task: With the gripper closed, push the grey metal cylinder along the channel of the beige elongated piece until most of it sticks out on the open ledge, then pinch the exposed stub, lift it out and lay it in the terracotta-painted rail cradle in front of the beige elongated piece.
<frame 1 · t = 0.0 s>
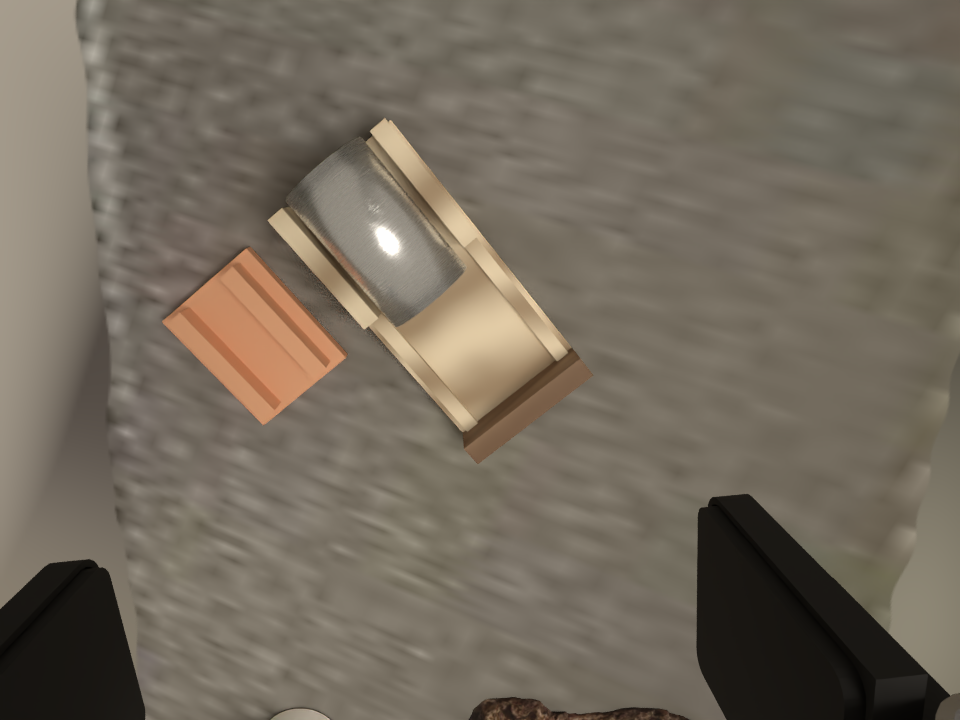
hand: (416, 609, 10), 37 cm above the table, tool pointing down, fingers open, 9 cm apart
grey metal cylinder: (383, 231, 43), point 2 cm above the table, touching beige elongated piece
cradle: (259, 336, 46), on the table
beige elongated piece: (436, 290, 46), on the table
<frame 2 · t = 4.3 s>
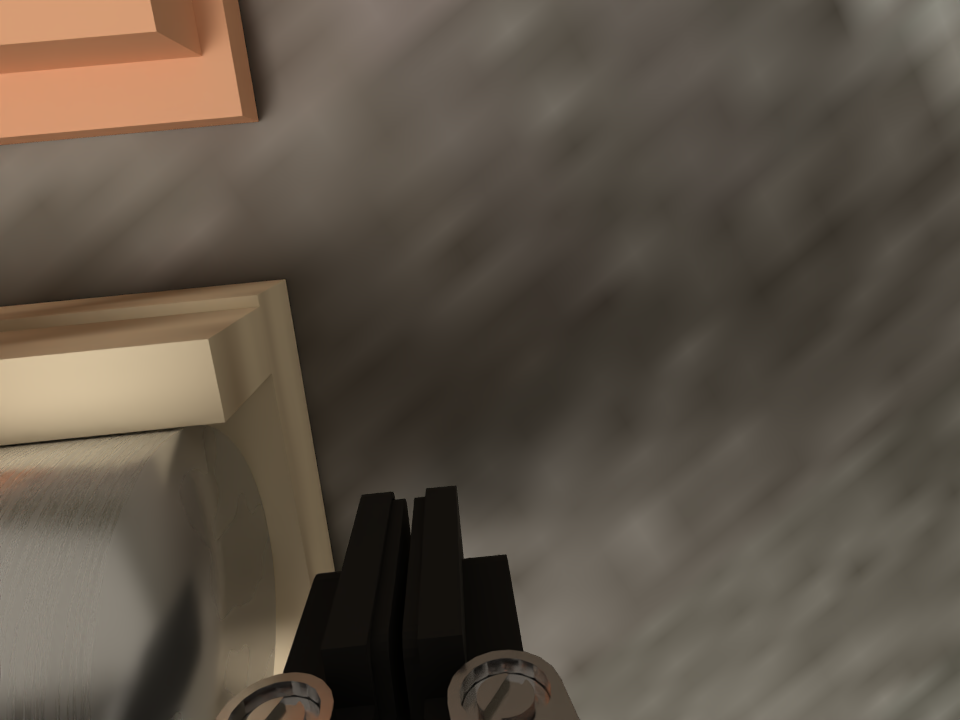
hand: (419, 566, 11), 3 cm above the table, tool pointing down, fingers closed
grey metal cylinder: (6, 586, 12), point 2 cm above the table, tilted 12°, touching beige elongated piece, gripper
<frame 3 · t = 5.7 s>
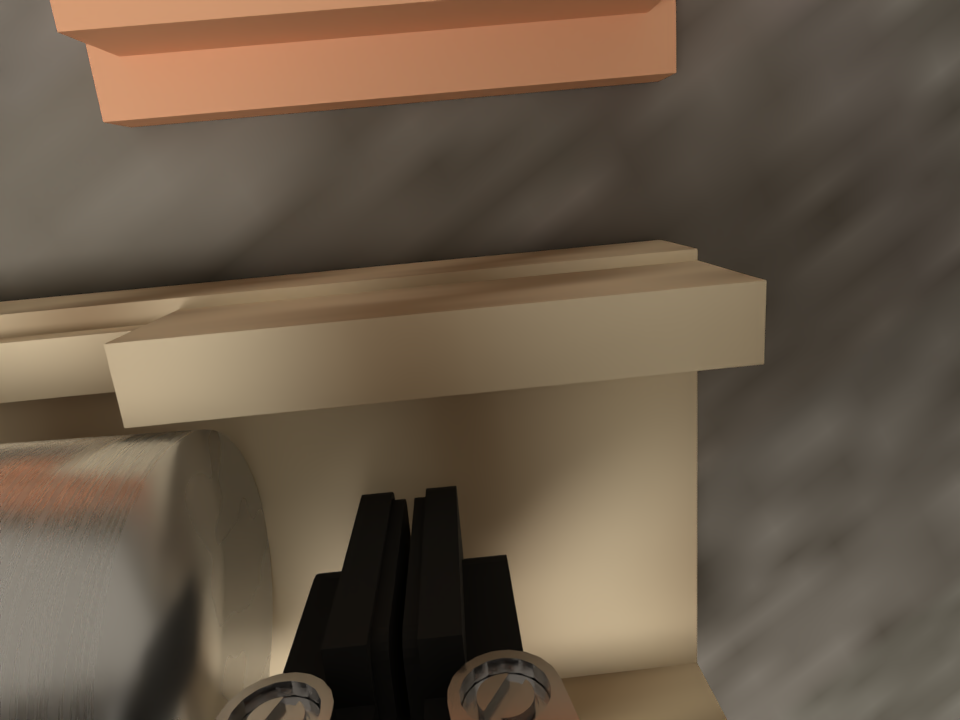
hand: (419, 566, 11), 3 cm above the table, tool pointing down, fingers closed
grey metal cylinder: (2, 585, 12), point 2 cm above the table, tilted 13°, touching beige elongated piece, gripper
beige elongated piece: (191, 514, 14), on the table
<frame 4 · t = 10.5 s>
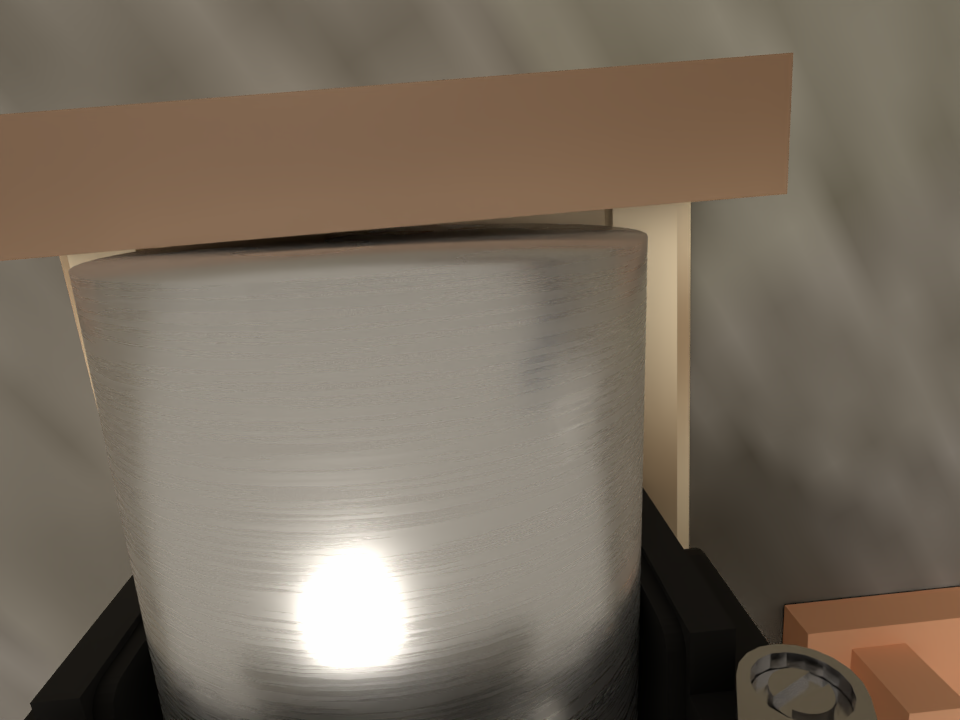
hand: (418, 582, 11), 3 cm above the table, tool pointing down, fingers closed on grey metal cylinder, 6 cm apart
grey metal cylinder: (406, 512, 12), point 2 cm above the table, touching beige elongated piece, gripper
beige elongated piece: (436, 623, 14), on the table
when the fingers open (4 cm above the table, at t = 15.5 s): grey metal cylinder drops 1 cm, resting on cradle.
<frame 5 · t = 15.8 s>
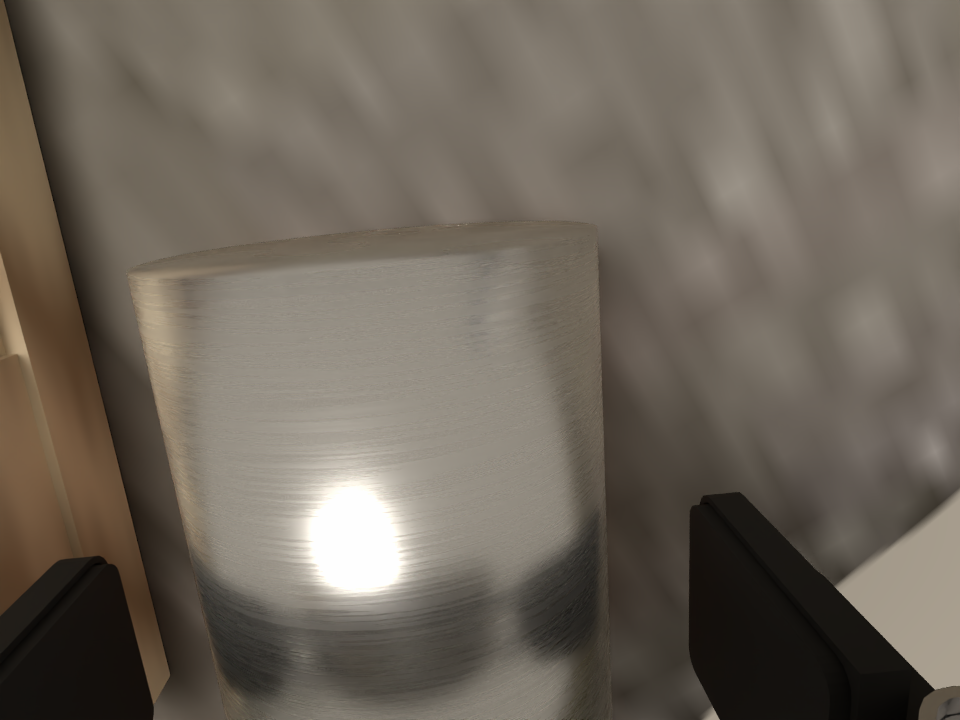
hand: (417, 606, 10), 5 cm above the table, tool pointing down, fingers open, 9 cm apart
grey metal cylinder: (405, 482, 13), point 2 cm above the table, tilted 5°, touching cradle
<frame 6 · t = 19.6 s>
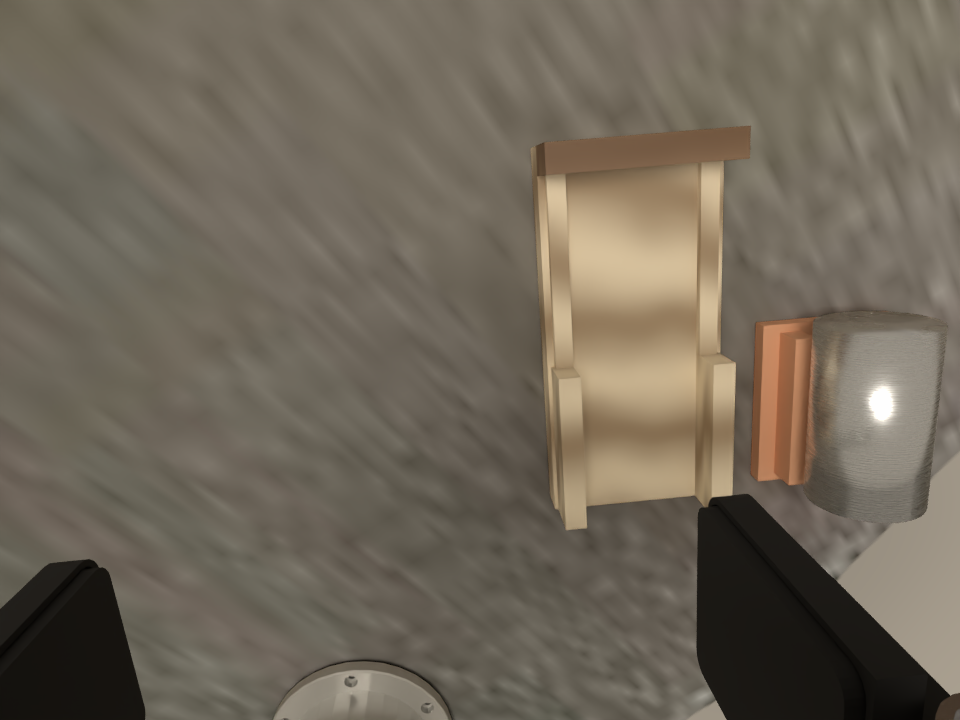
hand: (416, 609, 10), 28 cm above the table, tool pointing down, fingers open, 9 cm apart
grey metal cylinder: (832, 395, 38), point 2 cm above the table, tilted 5°, touching cradle
cradle: (816, 394, 40), on the table
beige elongated piece: (624, 326, 38), on the table
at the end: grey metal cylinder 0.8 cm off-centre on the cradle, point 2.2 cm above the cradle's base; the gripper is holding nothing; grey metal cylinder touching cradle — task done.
